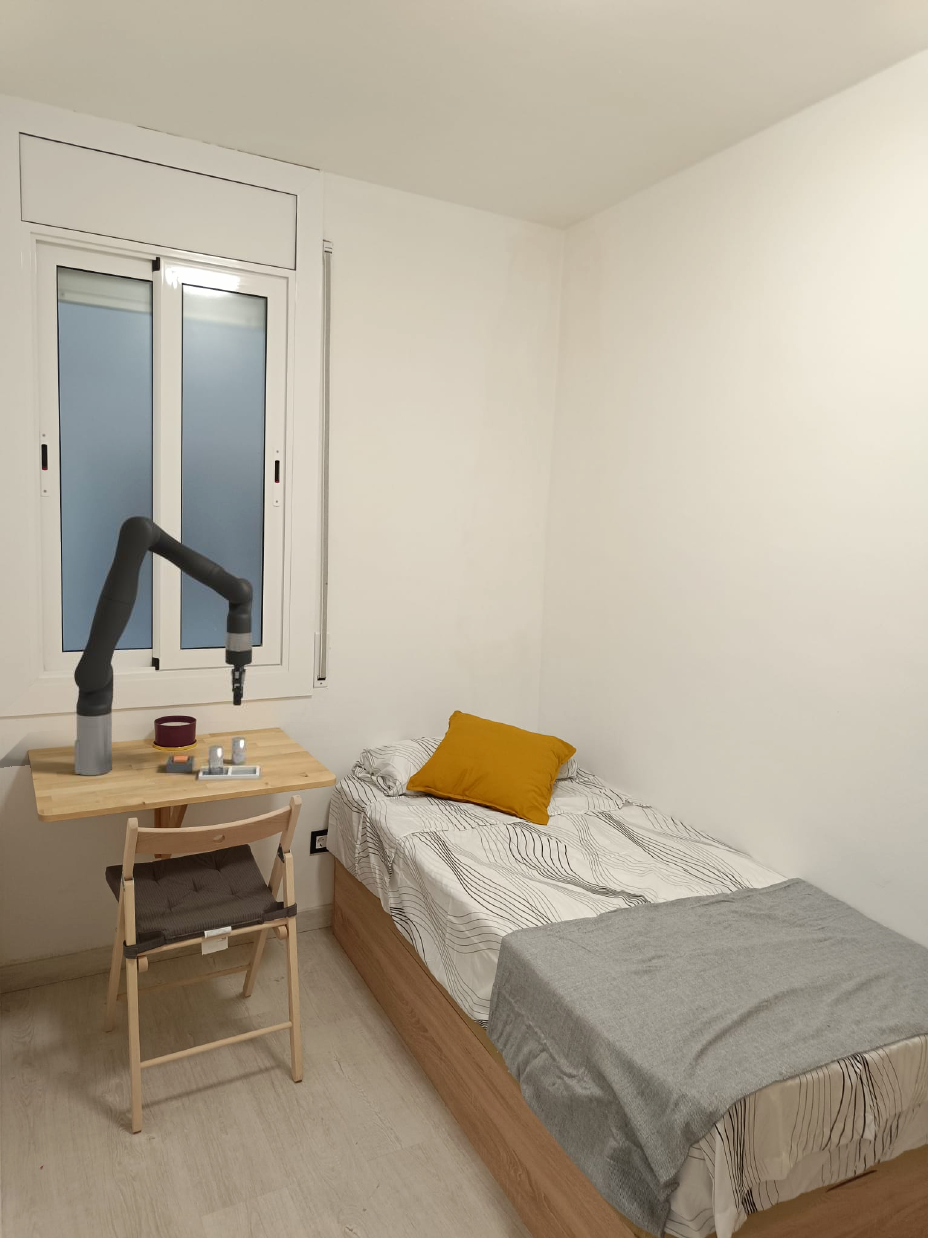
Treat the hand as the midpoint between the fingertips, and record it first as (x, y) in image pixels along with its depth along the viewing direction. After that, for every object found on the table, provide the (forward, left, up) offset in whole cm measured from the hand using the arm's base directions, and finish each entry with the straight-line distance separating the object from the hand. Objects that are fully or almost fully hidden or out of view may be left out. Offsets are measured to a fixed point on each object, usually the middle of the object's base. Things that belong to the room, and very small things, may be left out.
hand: (238, 701), depth 246 cm
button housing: (-16, -2, -21) cm, 26 cm away
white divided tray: (-2, -8, -21) cm, 22 cm away
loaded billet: (-6, -8, -20) cm, 22 cm away
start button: (-16, -2, -19) cm, 24 cm away
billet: (0, +3, -20) cm, 20 cm away
